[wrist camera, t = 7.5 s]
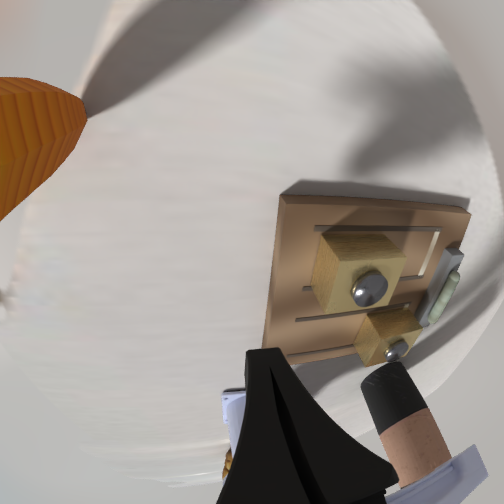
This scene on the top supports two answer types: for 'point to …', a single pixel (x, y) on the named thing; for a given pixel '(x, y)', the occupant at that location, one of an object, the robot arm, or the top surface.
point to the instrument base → (356, 222)
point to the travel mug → (404, 423)
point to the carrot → (34, 135)
